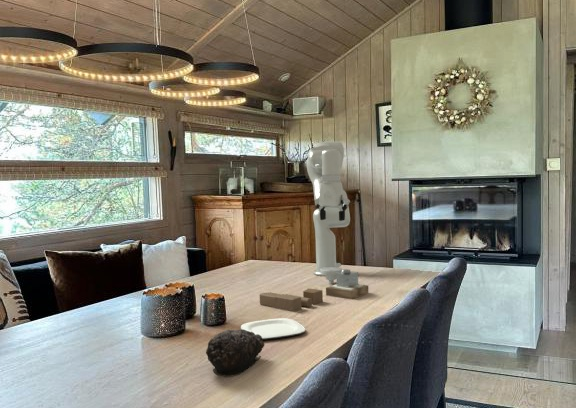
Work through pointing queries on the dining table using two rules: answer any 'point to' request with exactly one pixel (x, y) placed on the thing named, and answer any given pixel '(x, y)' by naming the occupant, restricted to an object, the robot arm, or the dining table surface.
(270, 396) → the dining table surface
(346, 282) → the housing
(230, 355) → the pine cone
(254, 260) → the dining table surface
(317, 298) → the wooden block set
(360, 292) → the stand
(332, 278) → the showerhead
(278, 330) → the plate
